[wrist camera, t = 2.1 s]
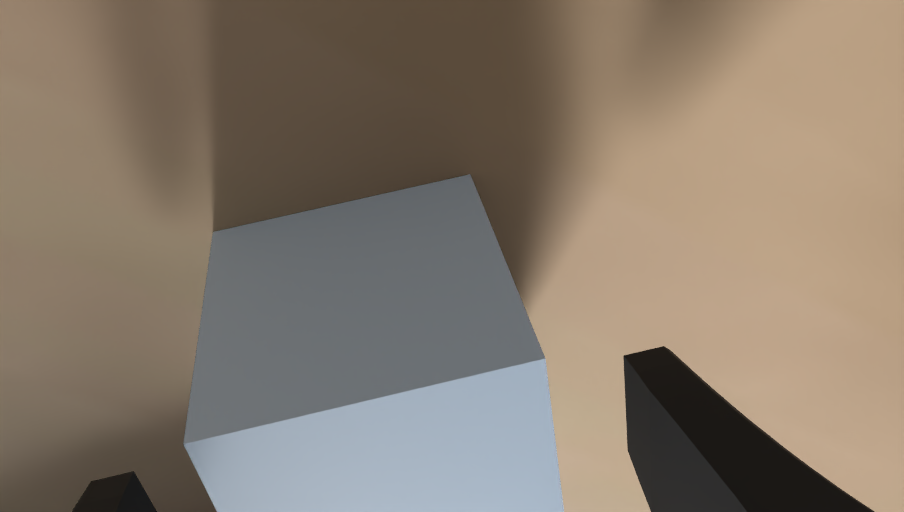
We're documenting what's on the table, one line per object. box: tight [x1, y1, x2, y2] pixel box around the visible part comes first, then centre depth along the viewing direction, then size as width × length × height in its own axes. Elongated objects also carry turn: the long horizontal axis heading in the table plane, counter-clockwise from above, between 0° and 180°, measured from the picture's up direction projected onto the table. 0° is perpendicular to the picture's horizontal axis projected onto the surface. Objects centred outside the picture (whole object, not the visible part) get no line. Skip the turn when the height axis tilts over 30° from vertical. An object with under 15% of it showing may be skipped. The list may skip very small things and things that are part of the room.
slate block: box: [183, 174, 564, 512], centre depth 13 cm, size 4×4×5 cm
